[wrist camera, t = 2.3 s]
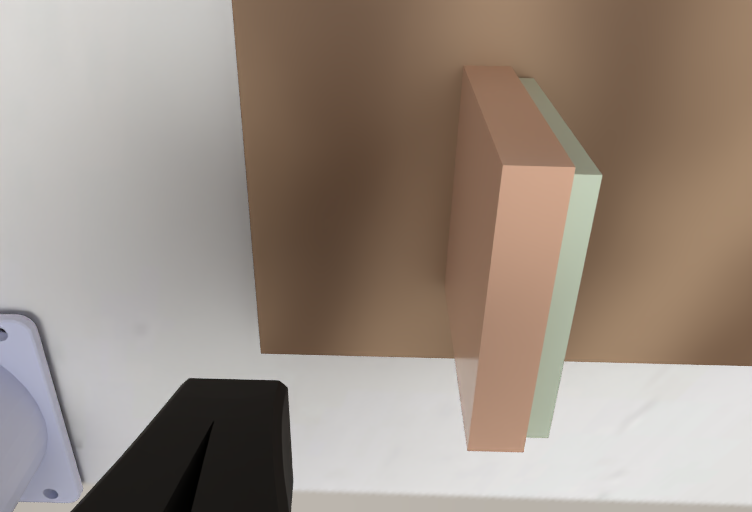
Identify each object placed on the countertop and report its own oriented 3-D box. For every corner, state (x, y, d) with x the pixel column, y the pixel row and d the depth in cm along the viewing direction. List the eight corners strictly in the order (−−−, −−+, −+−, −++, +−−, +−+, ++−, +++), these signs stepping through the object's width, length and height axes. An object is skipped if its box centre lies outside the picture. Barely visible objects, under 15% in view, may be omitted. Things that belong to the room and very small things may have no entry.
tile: (444, 285, 18) (467, 450, 13) (463, 65, 15) (502, 165, 10) (502, 287, 18) (549, 453, 13) (533, 66, 15) (608, 167, 10)
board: (267, 329, 21) (261, 353, 20) (238, -66, 15) (226, -61, 14) (786, 342, 21) (807, 367, 20) (946, -48, 15) (988, -43, 14)
